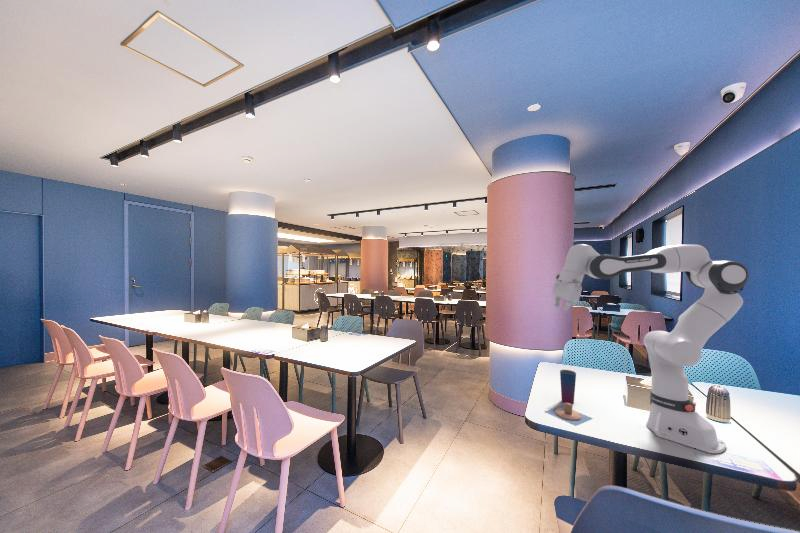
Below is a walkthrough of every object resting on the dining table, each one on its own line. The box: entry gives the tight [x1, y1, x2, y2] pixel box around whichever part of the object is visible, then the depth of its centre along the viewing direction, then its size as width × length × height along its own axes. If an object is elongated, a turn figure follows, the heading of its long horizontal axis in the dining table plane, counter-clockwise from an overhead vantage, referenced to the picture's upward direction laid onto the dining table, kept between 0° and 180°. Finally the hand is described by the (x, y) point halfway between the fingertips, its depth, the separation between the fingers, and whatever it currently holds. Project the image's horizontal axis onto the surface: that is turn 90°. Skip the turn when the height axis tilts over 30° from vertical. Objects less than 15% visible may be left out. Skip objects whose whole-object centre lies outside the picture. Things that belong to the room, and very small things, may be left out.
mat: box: [544, 405, 594, 427], centre depth 133 cm, size 14×13×1 cm
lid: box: [555, 402, 582, 421], centre depth 133 cm, size 10×10×5 cm
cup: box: [559, 369, 577, 405], centre depth 147 cm, size 7×7×15 cm
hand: (560, 308), depth 136 cm, fingers open, 8 cm apart
